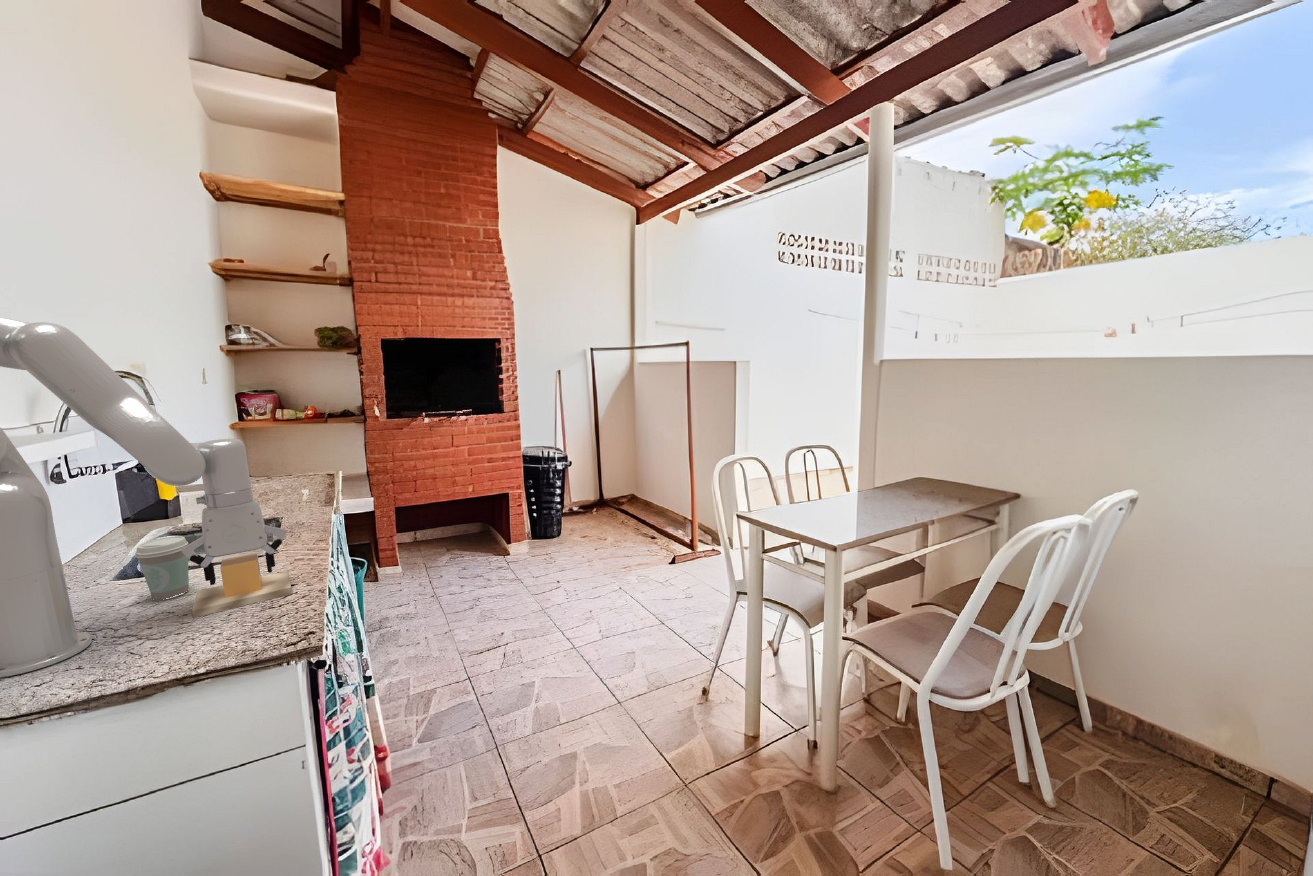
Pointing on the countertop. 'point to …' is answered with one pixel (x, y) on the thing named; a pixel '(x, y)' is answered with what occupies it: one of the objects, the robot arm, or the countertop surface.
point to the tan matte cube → (241, 575)
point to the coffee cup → (164, 566)
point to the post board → (241, 595)
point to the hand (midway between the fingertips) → (242, 576)
